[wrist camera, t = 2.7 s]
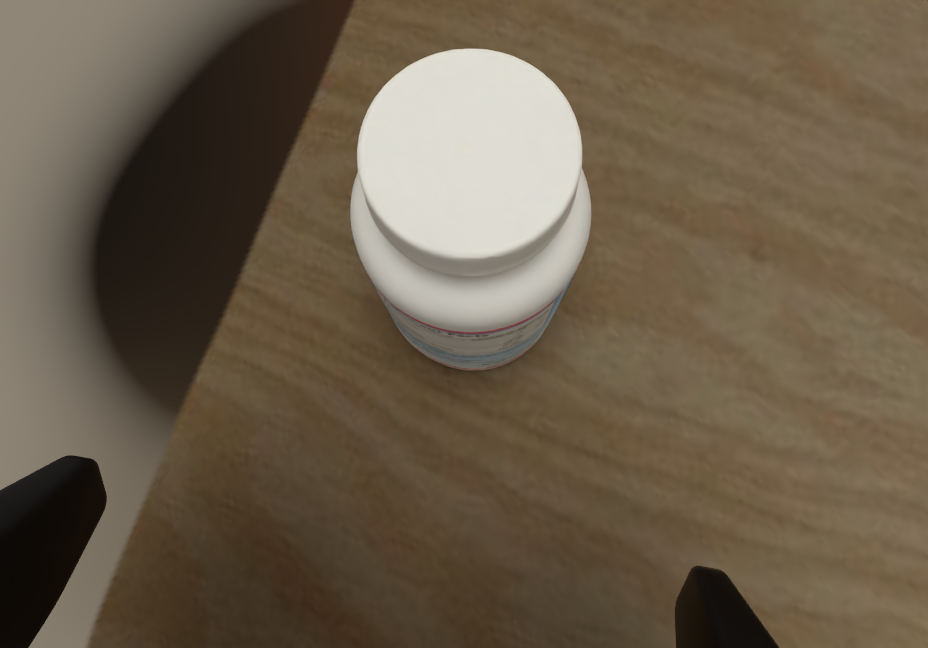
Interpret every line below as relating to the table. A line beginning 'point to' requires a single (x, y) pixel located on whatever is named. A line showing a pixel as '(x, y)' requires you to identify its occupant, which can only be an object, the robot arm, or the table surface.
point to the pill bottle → (470, 204)
